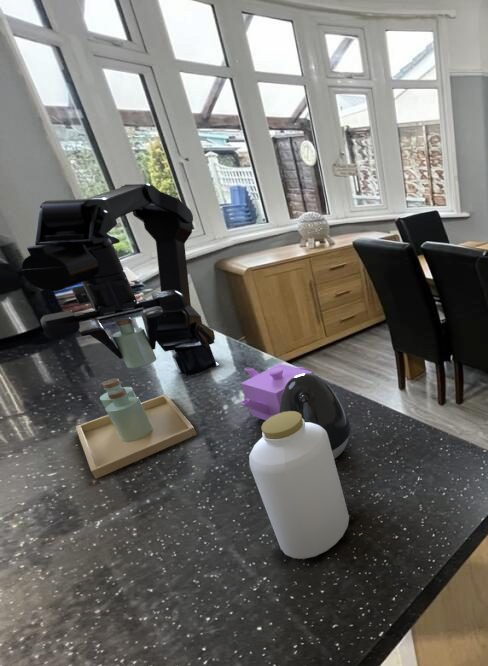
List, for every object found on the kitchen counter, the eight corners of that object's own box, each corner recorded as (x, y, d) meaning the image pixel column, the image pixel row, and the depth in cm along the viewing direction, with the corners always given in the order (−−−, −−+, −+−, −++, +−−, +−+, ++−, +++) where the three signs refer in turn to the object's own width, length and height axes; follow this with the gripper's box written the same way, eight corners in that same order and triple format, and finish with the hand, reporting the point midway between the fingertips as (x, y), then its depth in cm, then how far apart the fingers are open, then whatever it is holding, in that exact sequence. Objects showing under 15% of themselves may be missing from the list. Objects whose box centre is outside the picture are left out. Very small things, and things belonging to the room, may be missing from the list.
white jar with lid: (297, 510, 55) (262, 403, 48) (357, 505, 56) (331, 398, 49) (269, 566, 48) (221, 449, 40) (339, 560, 48) (305, 443, 41)
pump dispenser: (288, 487, 59) (259, 403, 53) (288, 446, 68) (264, 369, 62) (358, 463, 63) (340, 383, 57) (350, 427, 72) (333, 354, 66)
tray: (169, 401, 81) (166, 393, 80) (197, 436, 71) (193, 427, 70) (80, 435, 72) (75, 426, 71) (97, 481, 61) (91, 471, 60)
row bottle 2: (150, 423, 74) (130, 382, 70) (156, 432, 71) (135, 390, 68) (118, 435, 71) (96, 393, 67) (123, 445, 68) (101, 401, 65)
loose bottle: (153, 355, 79) (135, 313, 75) (159, 361, 76) (140, 318, 72) (124, 363, 75) (104, 320, 72) (129, 370, 73) (108, 326, 69)
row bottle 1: (143, 412, 77) (123, 372, 73) (148, 420, 74) (129, 380, 71) (113, 423, 74) (91, 382, 70) (117, 432, 71) (95, 390, 68)
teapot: (221, 425, 73) (203, 380, 69) (283, 389, 84) (271, 349, 80) (289, 450, 67) (273, 402, 63) (347, 407, 78) (337, 364, 74)
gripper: (158, 257, 80) (185, 327, 86) (20, 279, 67) (63, 359, 73) (173, 265, 74) (201, 340, 80) (22, 290, 60) (69, 378, 67)
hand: (137, 353), depth 75 cm, fingers closed on loose bottle, 4 cm apart
